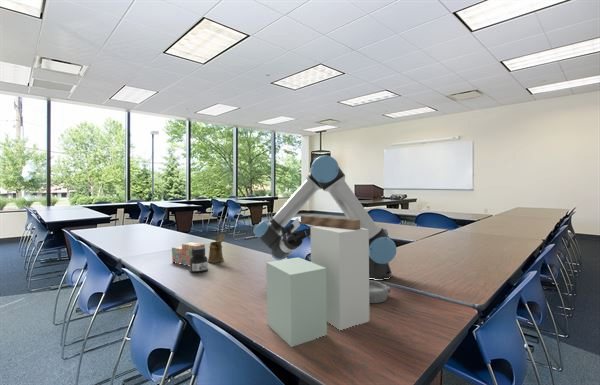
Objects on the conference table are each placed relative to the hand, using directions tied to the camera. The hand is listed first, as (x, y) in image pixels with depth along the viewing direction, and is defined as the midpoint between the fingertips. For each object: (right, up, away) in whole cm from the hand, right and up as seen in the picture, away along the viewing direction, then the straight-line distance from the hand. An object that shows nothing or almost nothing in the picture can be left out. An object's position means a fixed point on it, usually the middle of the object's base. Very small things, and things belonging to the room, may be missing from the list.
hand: (314, 220), depth 111 cm
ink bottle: (-59, -31, +46) cm, 81 cm away
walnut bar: (+5, -1, -7) cm, 9 cm away
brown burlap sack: (-54, -31, +64) cm, 89 cm away
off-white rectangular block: (+8, -31, -11) cm, 34 cm away
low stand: (-7, -32, -20) cm, 38 cm away
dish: (+23, -31, +6) cm, 39 cm away
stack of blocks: (-70, -31, +60) cm, 97 cm away
